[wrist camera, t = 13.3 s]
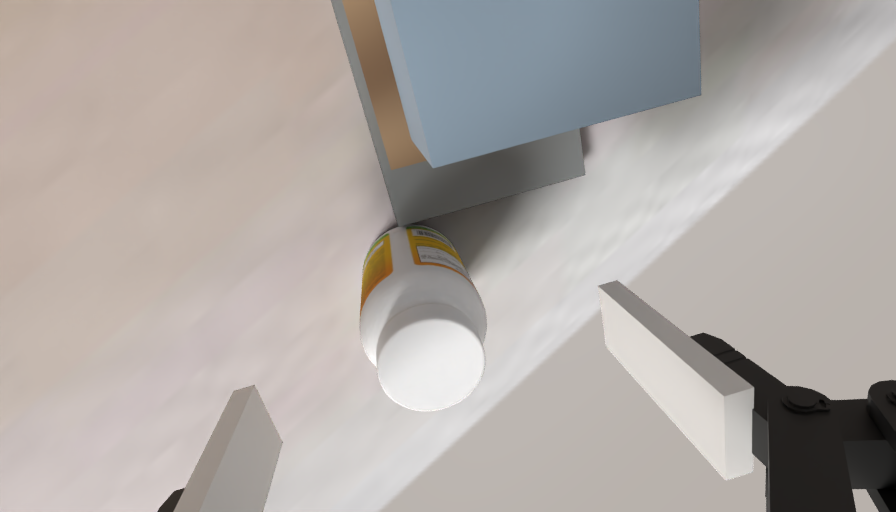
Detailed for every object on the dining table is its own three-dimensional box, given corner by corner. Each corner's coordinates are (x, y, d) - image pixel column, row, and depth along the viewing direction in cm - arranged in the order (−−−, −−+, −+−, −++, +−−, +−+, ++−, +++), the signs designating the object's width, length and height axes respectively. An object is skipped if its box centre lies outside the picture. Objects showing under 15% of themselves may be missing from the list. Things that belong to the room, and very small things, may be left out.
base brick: (325, -63, 18) (312, -103, 14) (537, -114, 19) (577, -166, 15) (388, 156, 21) (391, 170, 18) (567, 108, 22) (606, 112, 18)
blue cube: (354, -72, 15) (339, -200, 8) (555, -121, 15) (691, -279, 9) (411, 139, 17) (433, 168, 11) (581, 93, 18) (701, 94, 11)
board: (287, -149, 18) (280, -169, 17) (523, -203, 19) (534, -227, 17) (397, 219, 24) (398, 227, 23) (573, 170, 25) (585, 174, 23)
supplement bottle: (381, 323, 26) (384, 447, 17) (348, 239, 24) (333, 329, 15) (469, 295, 26) (518, 402, 17) (444, 210, 24) (486, 280, 15)
